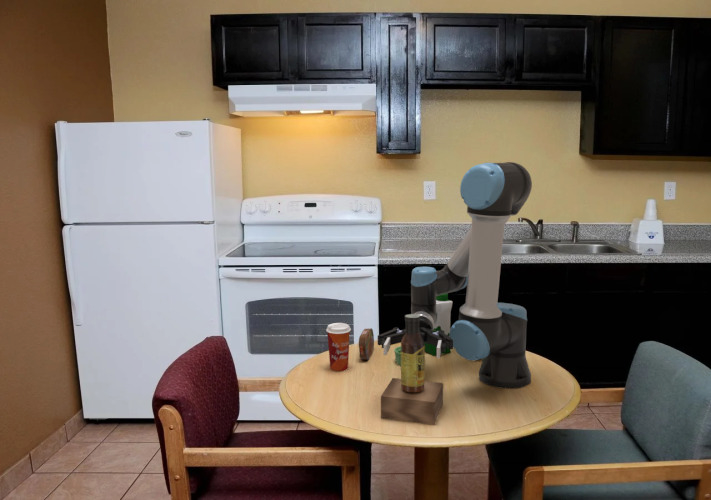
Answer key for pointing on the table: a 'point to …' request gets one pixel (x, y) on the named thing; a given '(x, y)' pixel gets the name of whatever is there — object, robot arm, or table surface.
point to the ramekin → (398, 355)
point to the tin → (366, 344)
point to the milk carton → (441, 321)
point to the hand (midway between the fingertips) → (411, 351)
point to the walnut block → (412, 402)
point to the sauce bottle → (412, 356)
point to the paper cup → (338, 345)
